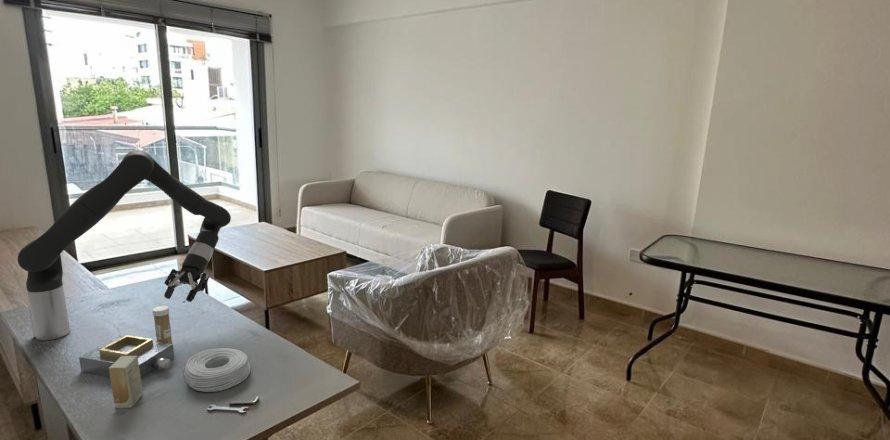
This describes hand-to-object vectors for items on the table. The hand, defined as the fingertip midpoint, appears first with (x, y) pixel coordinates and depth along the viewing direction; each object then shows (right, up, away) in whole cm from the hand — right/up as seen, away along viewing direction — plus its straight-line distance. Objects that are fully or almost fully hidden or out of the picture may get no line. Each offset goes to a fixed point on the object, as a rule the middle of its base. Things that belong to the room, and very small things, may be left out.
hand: (177, 299), depth 162 cm
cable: (+24, -20, -20) cm, 37 cm away
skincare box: (+6, -22, -33) cm, 41 cm away
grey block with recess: (-4, -18, -17) cm, 24 cm away
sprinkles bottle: (-2, -15, -4) cm, 15 cm away
